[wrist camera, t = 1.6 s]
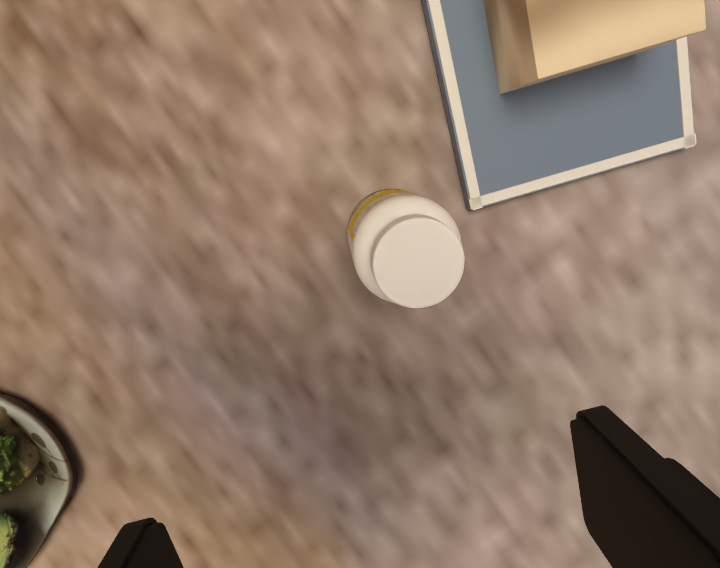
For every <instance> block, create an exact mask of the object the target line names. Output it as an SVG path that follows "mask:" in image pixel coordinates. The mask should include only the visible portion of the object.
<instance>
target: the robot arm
mask: <svg viewBox="0 0 720 568" xmlns="http://www.w3.org/2000/svg"><path fill="white" fill-rule="evenodd" d="M570 428H571V434H572V441H573V448H574V455H575V462H576V469H577V476H578V482H579V489H580V496H581V503H582V510H583V516H584V521H585V524H586V526H587V529H588V531H589V533H590V535H591V536H592V538H593V539H594V541H595V542H596V544H597V545H598V547H599V548H600V550H601V551H602V553H603V554H604V556H605V557H606V558H607V560H608V561H609V563H610V564H611V566H612V567H613V568H720V498H719V497H718V496H716V495H715V494H714V493H713V492H712V491H711V490H710V489H708V488H707V487H706V486H705V485H704V484H703V483H702V482H700V481H699V480H698V479H697V478H696V477H695V476H694V475H692V474H691V473H690V472H689V471H688V470H687V469H686V468H684V467H683V466H682V465H681V464H680V463H678V462H677V461H675V460H674V459H671V458H665V459H664V458H663V457H662V456H661V455H660V454H659V453H657V452H656V451H655V450H654V449H653V448H652V447H651V446H650V445H649V444H647V443H646V442H645V441H644V440H643V439H642V438H641V437H640V436H639V435H637V434H636V433H635V432H634V431H633V430H632V429H631V428H630V427H629V426H628V425H626V424H625V423H624V422H623V421H622V420H621V419H620V418H619V417H618V416H616V415H615V414H614V413H613V412H612V411H611V410H610V409H609V408H607V407H606V406H598V407H594V408H590V409H586V410H582V411H578V412H577V415H576V419H575V420H572V421H571V422H570ZM98 568H183V565H182V563H181V561H180V559H179V556H178V554H177V552H176V550H175V547H174V545H173V543H172V541H171V539H170V536H169V534H168V532H167V530H166V527H165V526H164V524H163V523H157V521H156V520H155V519H154V518H147V519H143V520H139V521H135V522H131V523H127V524H125V525H124V526H123V527H122V528H121V530H120V531H119V533H118V535H117V536H116V538H115V540H114V541H113V543H112V545H111V546H110V548H109V550H108V551H107V553H106V555H105V556H104V558H103V560H102V561H101V563H100V565H99V566H98Z"/></svg>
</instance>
